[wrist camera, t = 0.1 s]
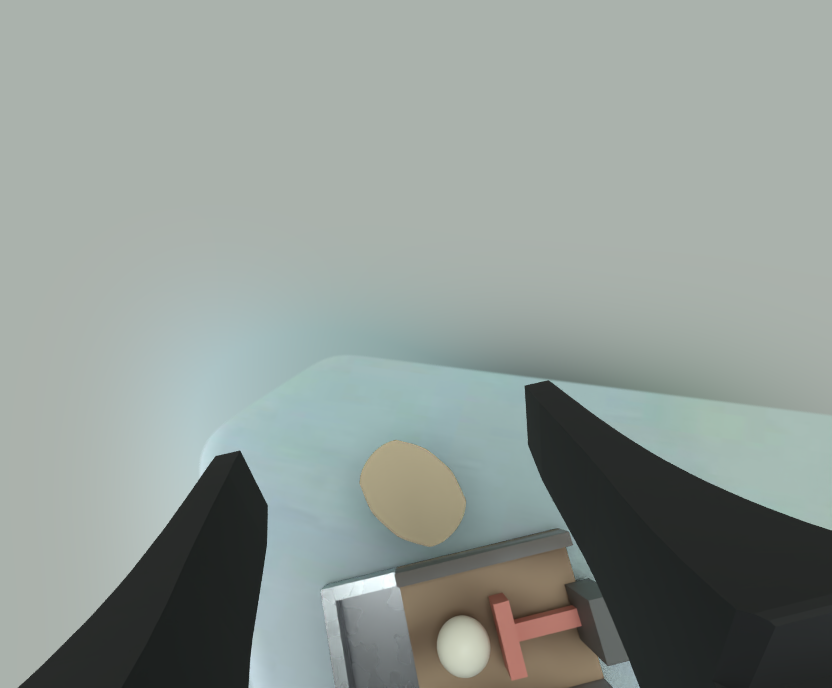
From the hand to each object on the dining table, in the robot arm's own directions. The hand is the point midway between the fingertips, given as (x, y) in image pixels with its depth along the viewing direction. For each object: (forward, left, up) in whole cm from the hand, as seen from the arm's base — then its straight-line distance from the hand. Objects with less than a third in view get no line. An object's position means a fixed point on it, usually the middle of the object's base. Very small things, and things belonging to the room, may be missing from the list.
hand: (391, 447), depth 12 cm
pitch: (-13, -4, -32) cm, 35 cm away
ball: (-13, -1, -29) cm, 32 cm away
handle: (-1, 0, -32) cm, 32 cm away
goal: (-13, +6, -32) cm, 35 cm away
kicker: (-13, -8, -31) cm, 34 cm away
